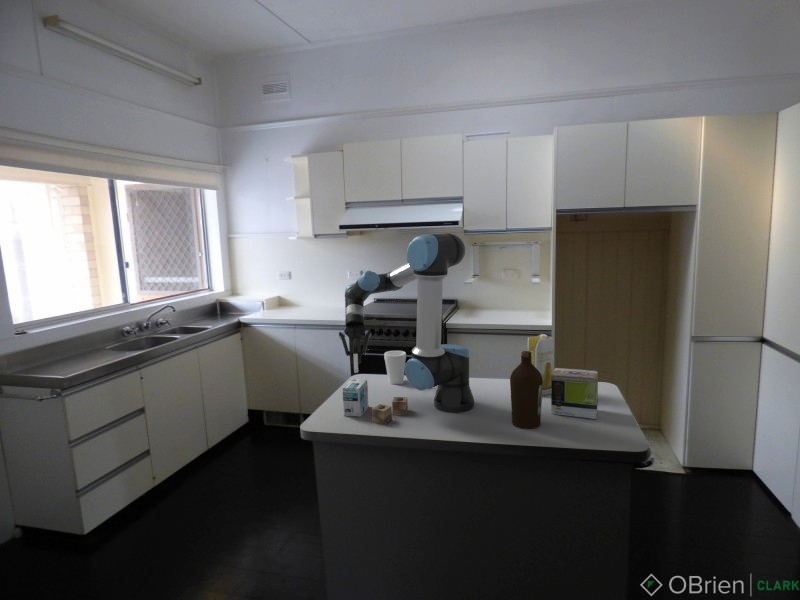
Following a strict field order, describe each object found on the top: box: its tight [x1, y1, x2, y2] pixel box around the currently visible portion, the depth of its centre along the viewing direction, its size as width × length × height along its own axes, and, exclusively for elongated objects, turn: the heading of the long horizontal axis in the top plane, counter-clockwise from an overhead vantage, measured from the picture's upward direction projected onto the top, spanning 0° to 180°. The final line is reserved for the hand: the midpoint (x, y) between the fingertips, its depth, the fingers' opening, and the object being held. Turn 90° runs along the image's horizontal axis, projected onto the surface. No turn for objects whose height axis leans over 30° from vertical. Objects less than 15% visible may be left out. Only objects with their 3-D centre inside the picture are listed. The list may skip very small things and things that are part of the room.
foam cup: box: [383, 350, 407, 385], centre depth 211 cm, size 10×9×13 cm
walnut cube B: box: [371, 403, 393, 426], centre depth 170 cm, size 5×5×5 cm
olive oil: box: [509, 350, 543, 430], centre depth 161 cm, size 11×11×25 cm
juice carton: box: [527, 333, 555, 397], centre depth 191 cm, size 9×8×24 cm
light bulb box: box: [341, 378, 369, 418], centre depth 179 cm, size 11×7×11 cm, turn 168°
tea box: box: [550, 367, 599, 420], centre depth 171 cm, size 15×10×15 cm, turn 65°
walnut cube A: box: [391, 396, 409, 416], centre depth 177 cm, size 5×5×5 cm
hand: (356, 370), depth 178 cm, fingers closed
